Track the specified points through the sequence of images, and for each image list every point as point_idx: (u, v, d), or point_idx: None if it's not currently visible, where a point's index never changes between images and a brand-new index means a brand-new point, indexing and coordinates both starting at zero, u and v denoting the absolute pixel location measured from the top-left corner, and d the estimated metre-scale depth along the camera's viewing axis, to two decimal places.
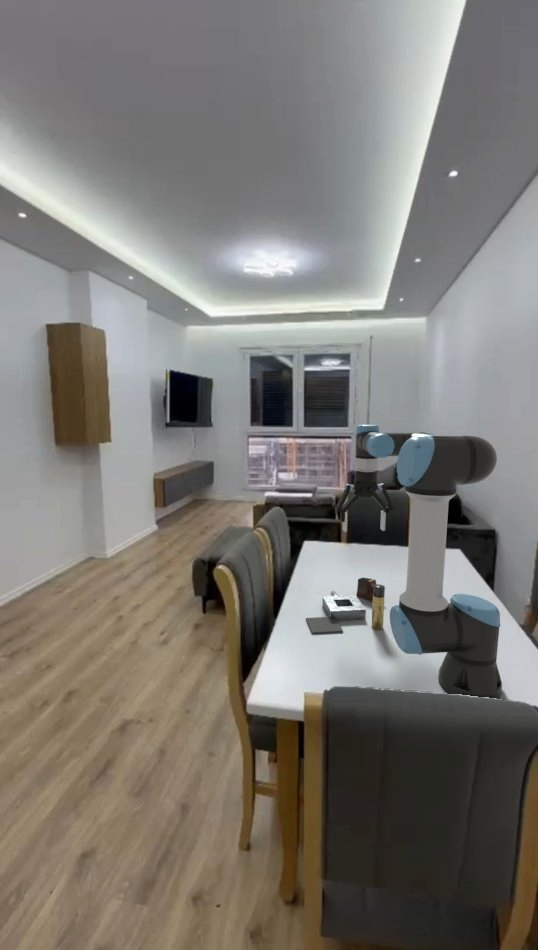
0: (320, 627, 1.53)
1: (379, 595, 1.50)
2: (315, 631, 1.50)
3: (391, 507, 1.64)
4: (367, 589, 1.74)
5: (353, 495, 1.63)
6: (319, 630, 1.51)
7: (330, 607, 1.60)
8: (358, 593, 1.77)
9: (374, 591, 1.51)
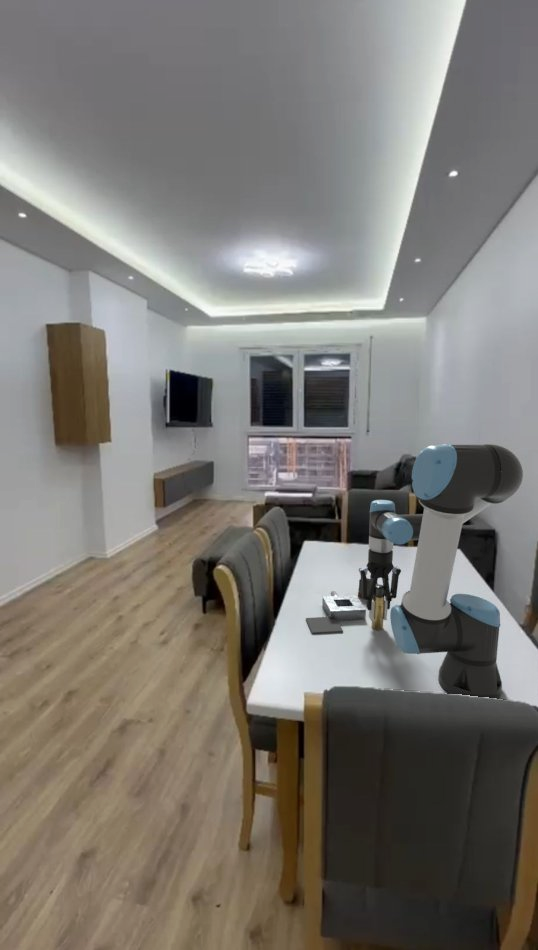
0: (320, 627, 1.53)
1: (379, 595, 1.50)
2: (315, 631, 1.50)
3: (394, 595, 1.51)
4: None
5: (371, 578, 1.51)
6: (319, 630, 1.51)
7: (330, 607, 1.60)
8: (359, 593, 1.77)
9: (374, 591, 1.51)
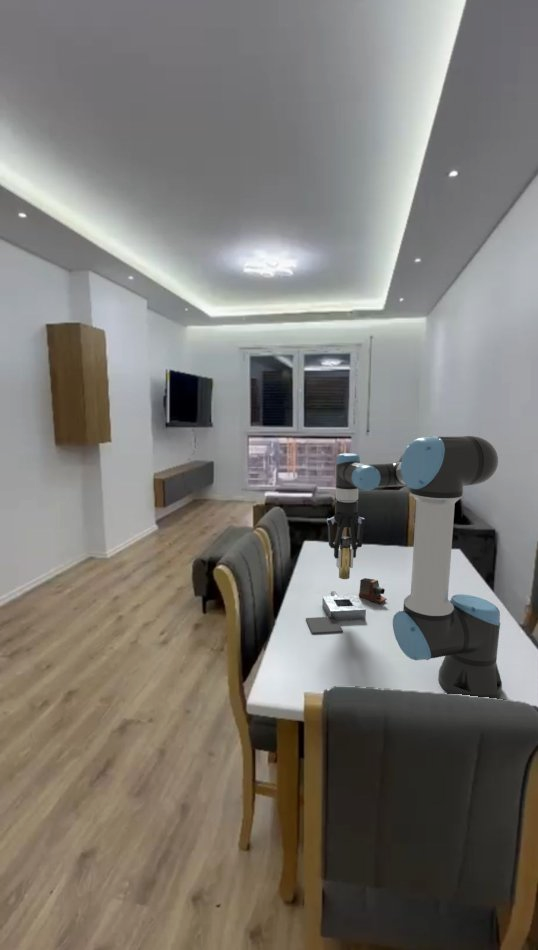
0: (320, 627, 1.53)
1: (345, 545, 1.59)
2: (315, 631, 1.50)
3: (359, 544, 1.60)
4: (369, 590, 1.74)
5: (338, 528, 1.60)
6: (319, 630, 1.51)
7: (330, 607, 1.60)
8: (360, 594, 1.77)
9: (341, 542, 1.60)
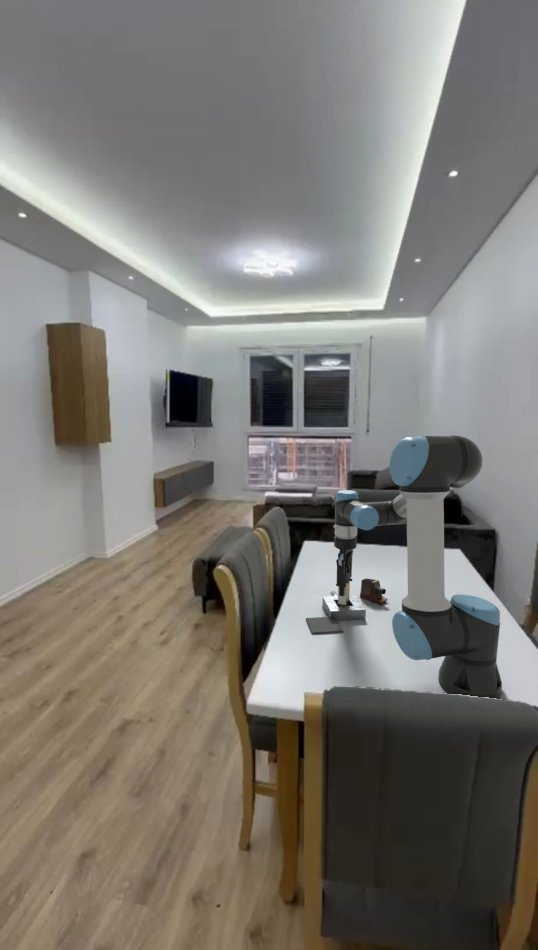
0: (320, 627, 1.53)
1: (348, 580, 1.62)
2: (315, 631, 1.50)
3: (351, 574, 1.67)
4: (370, 590, 1.73)
5: None
6: (319, 630, 1.51)
7: (330, 607, 1.60)
8: (362, 594, 1.76)
9: None
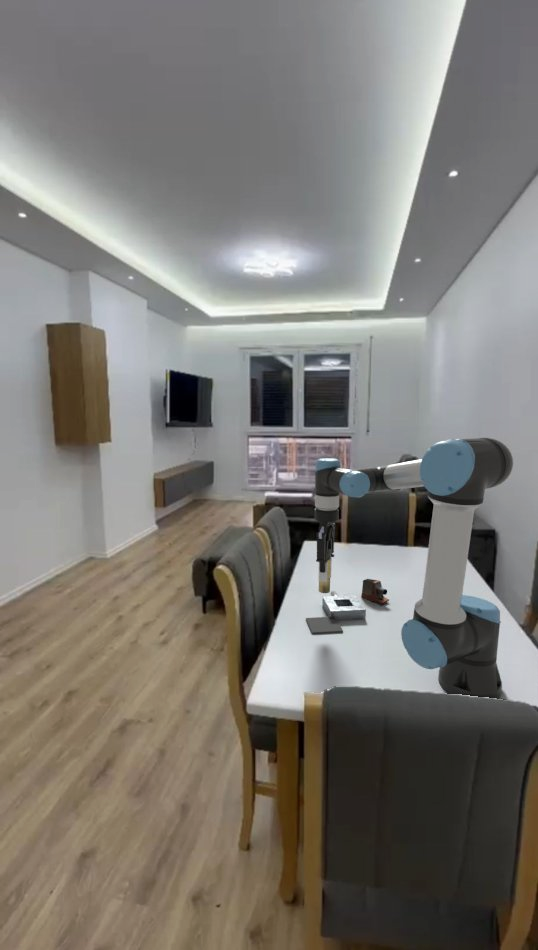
0: (320, 627, 1.53)
1: (329, 557, 1.50)
2: (315, 631, 1.50)
3: (333, 550, 1.55)
4: (372, 590, 1.73)
5: None
6: (319, 630, 1.51)
7: (330, 607, 1.60)
8: (363, 594, 1.76)
9: None
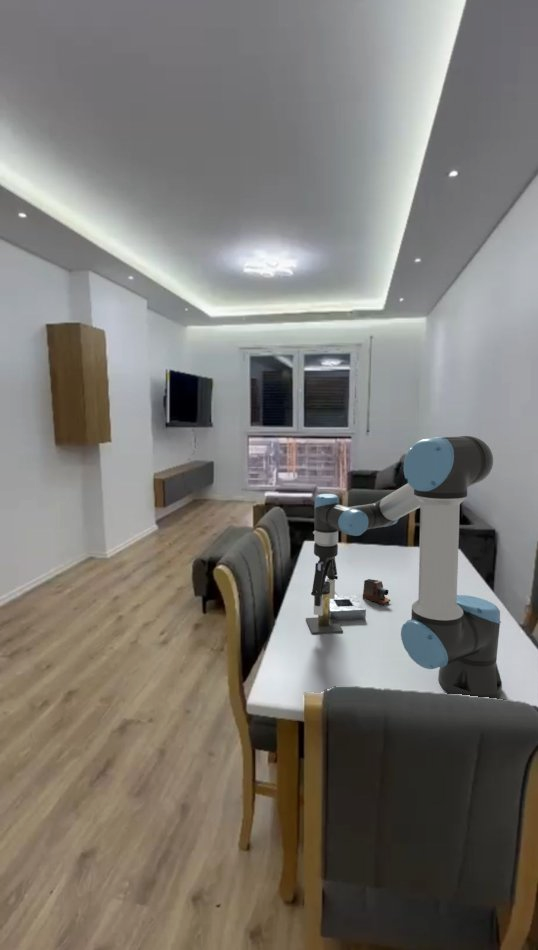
0: (320, 627, 1.53)
1: (329, 591, 1.52)
2: (315, 631, 1.50)
3: (336, 573, 1.60)
4: (373, 591, 1.73)
5: None
6: (319, 630, 1.51)
7: (330, 607, 1.60)
8: (364, 595, 1.76)
9: (324, 589, 1.51)
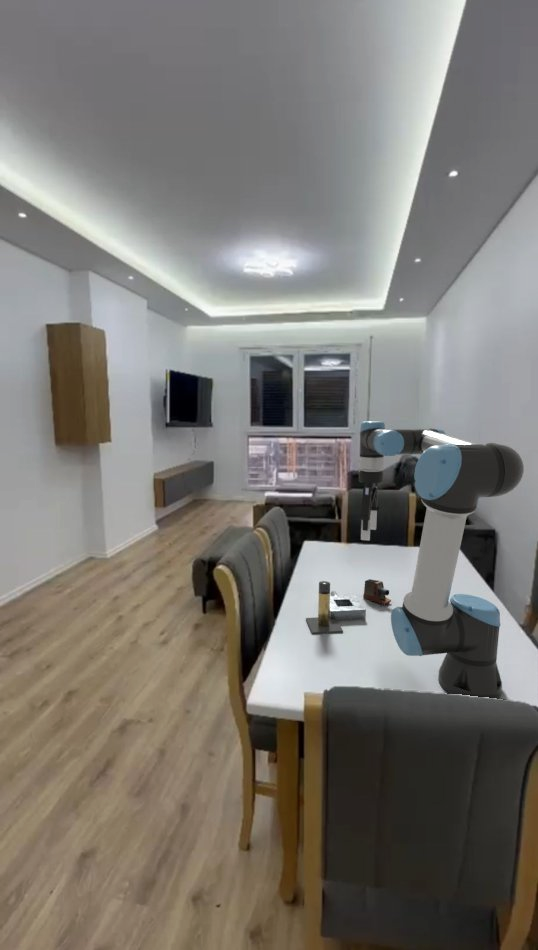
0: (320, 627, 1.53)
1: (329, 591, 1.52)
2: (315, 631, 1.50)
3: (377, 504, 1.61)
4: (374, 591, 1.72)
5: None
6: (319, 630, 1.51)
7: (330, 607, 1.60)
8: (365, 595, 1.76)
9: (324, 589, 1.51)
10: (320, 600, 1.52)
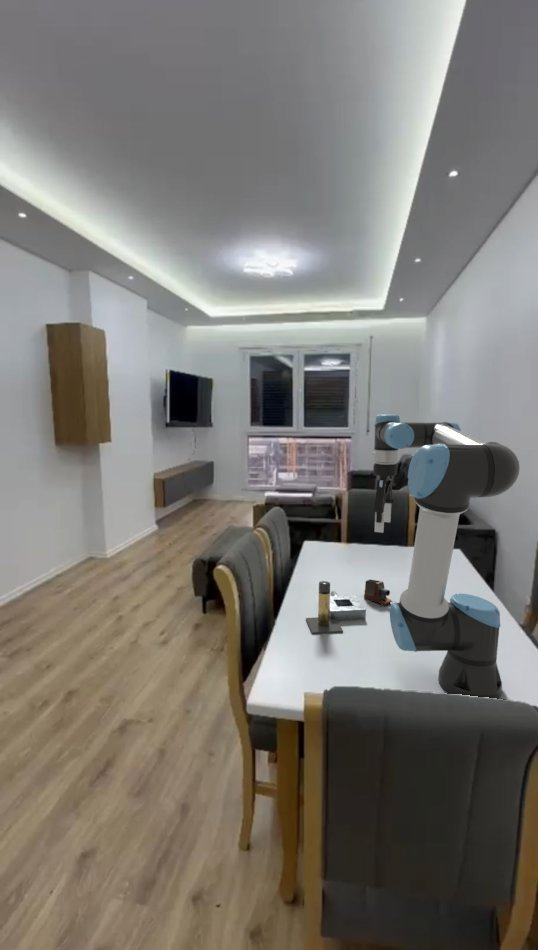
0: (320, 627, 1.53)
1: (329, 591, 1.52)
2: (315, 631, 1.50)
3: None
4: (374, 591, 1.72)
5: None
6: (319, 630, 1.51)
7: (330, 607, 1.60)
8: (365, 595, 1.75)
9: (324, 589, 1.51)
10: (320, 600, 1.52)
